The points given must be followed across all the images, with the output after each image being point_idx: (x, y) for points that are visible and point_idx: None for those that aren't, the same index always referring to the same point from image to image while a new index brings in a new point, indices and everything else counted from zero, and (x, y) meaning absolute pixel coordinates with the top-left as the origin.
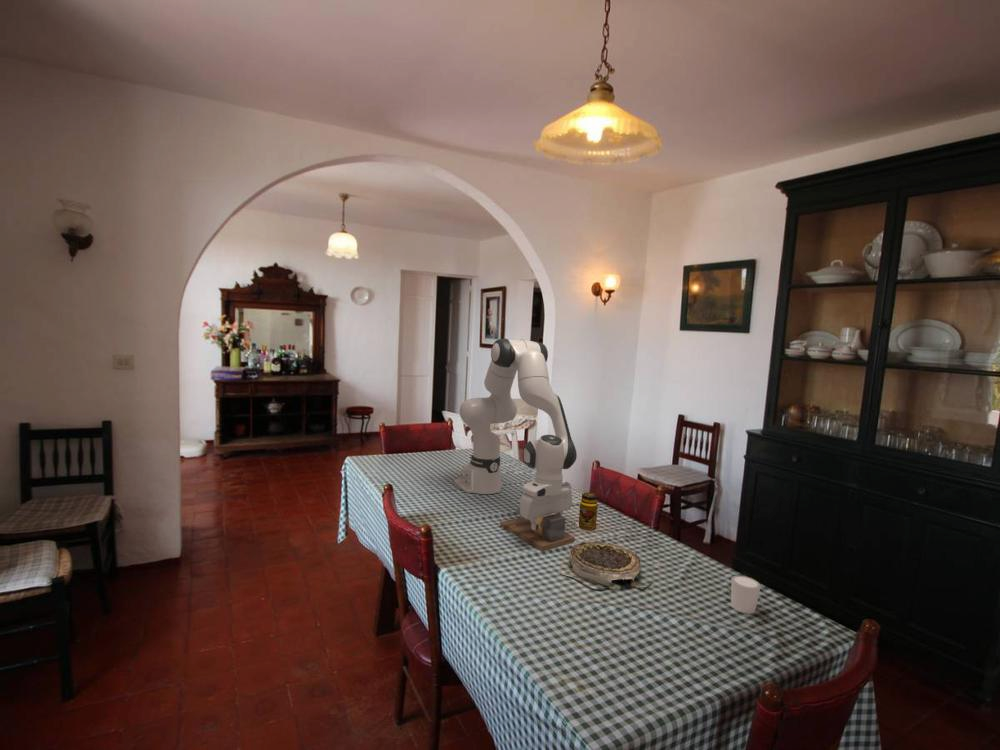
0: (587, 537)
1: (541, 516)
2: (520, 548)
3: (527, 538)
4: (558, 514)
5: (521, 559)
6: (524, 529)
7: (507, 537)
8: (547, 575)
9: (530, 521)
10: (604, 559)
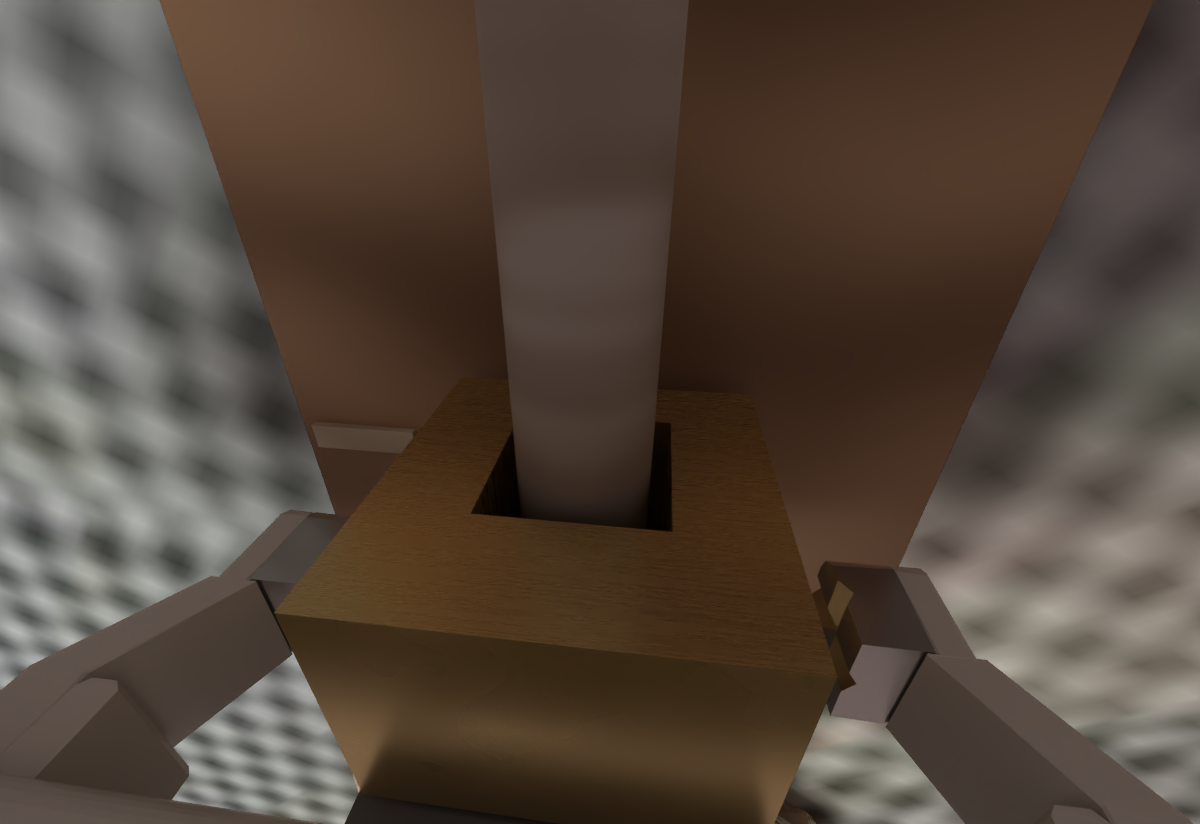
0: (1058, 653)
1: (435, 720)
2: (211, 455)
3: (310, 426)
4: (1012, 805)
5: (161, 580)
6: (399, 160)
7: (115, 117)
8: (268, 743)
9: (134, 623)
10: None
